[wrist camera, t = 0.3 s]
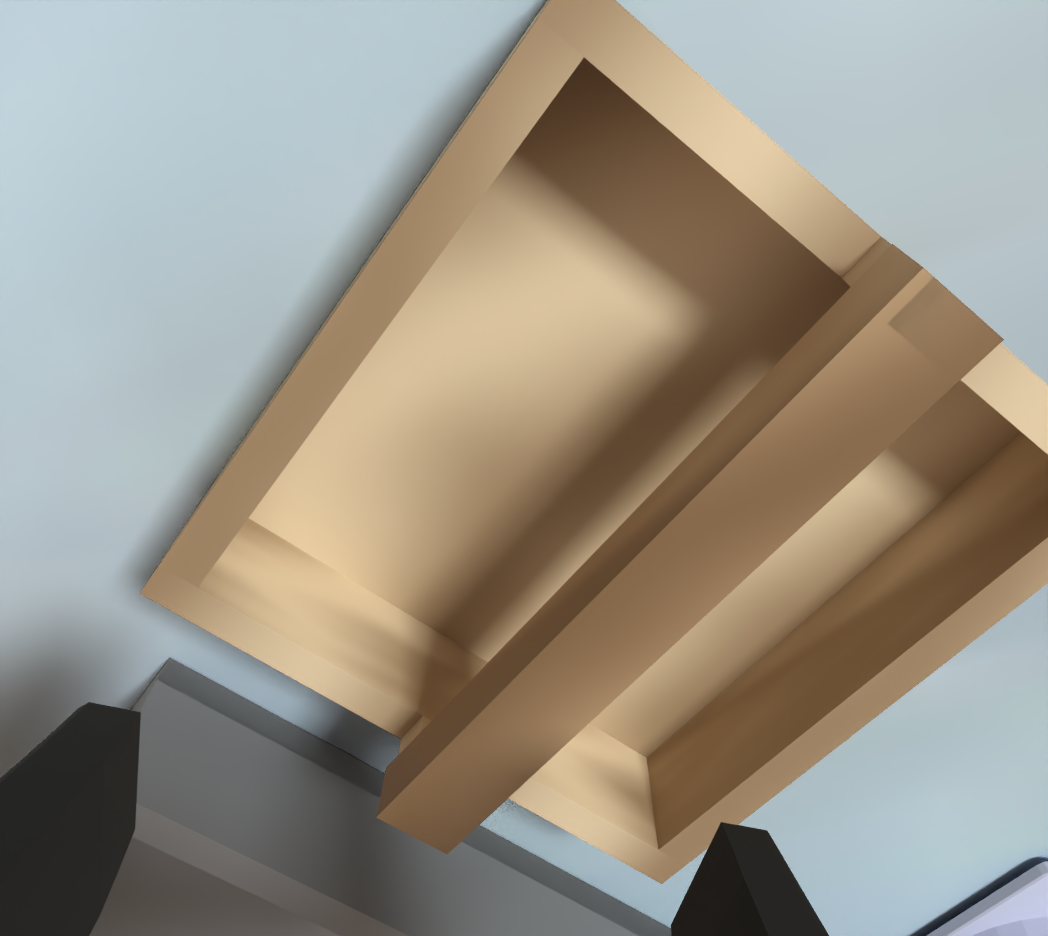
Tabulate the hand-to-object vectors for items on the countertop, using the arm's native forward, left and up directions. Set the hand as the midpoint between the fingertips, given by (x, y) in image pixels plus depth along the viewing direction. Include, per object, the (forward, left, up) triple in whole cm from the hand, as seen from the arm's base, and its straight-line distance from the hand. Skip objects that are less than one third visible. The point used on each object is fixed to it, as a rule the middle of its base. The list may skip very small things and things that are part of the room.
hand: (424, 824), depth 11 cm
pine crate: (-2, -2, -10) cm, 10 cm away
